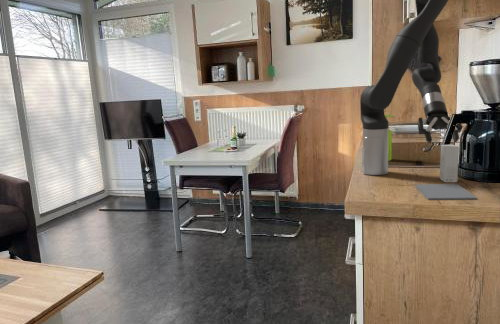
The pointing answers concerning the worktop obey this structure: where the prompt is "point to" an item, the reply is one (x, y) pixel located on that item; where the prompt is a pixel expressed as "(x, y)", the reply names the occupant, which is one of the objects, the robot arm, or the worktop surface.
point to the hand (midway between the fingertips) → (443, 141)
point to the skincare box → (449, 163)
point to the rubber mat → (444, 192)
